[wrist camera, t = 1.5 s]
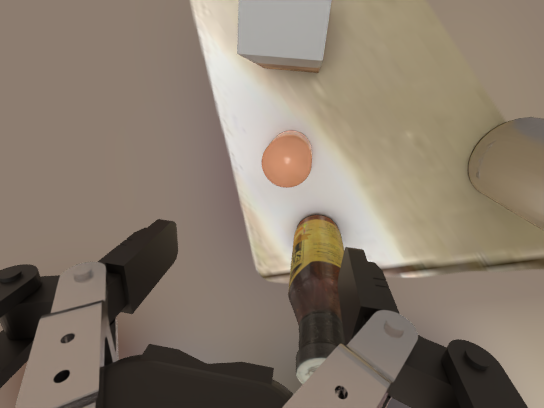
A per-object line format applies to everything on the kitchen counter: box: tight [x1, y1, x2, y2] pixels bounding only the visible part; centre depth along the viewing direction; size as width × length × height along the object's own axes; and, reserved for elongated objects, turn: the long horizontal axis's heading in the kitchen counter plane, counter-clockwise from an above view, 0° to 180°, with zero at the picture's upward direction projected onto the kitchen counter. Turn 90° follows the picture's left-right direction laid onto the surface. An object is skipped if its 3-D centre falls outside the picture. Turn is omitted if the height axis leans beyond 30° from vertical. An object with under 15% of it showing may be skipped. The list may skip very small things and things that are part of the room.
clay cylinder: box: [262, 130, 312, 187], centre depth 30 cm, size 5×5×6 cm
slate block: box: [237, 0, 331, 68], centre depth 20 cm, size 6×6×6 cm
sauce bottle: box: [288, 215, 345, 384], centre depth 27 cm, size 6×6×20 cm
